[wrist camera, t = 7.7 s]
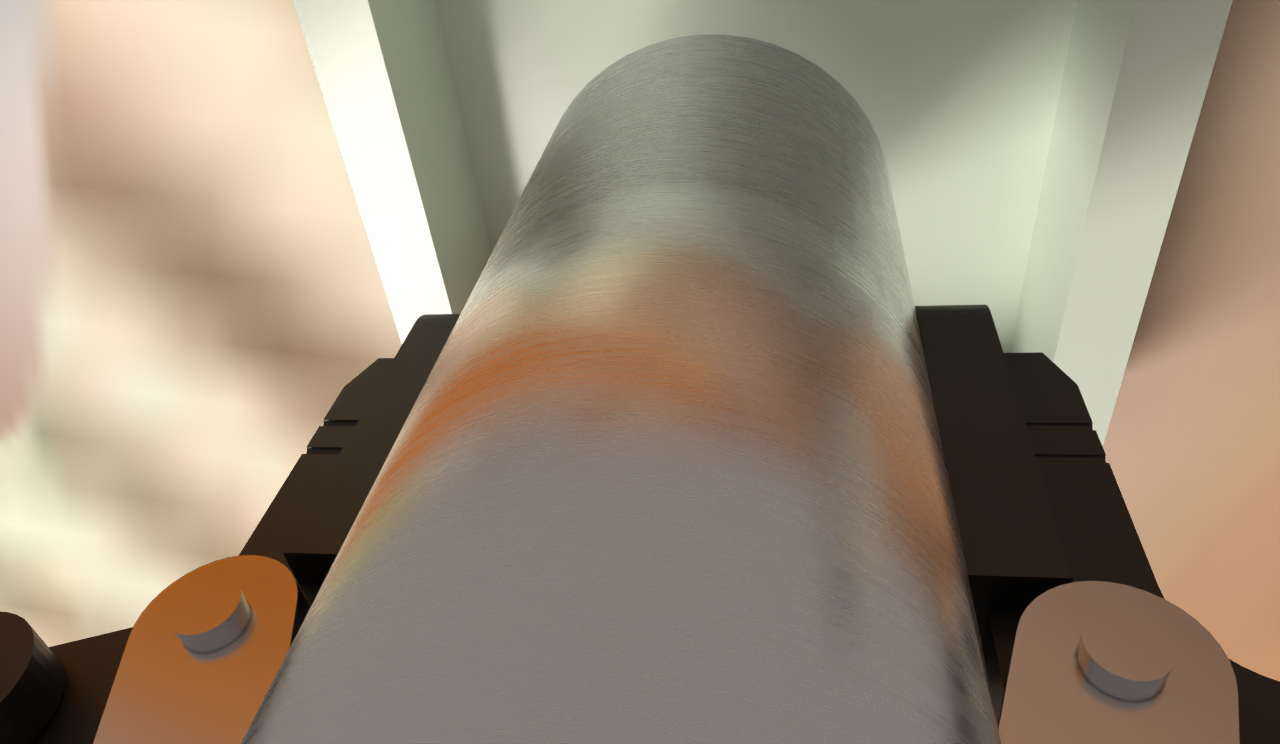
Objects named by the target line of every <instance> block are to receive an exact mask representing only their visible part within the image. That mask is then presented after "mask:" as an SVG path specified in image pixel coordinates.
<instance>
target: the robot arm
mask: <svg viewBox="0 0 1280 744" xmlns="http://www.w3.org/2000/svg"><path fill="white" fill-rule="evenodd" d="M915 311H916V316H917V321H918V326H919V331H920V336H921V341H922V346H923V351H924V356H925V361H926V366H927V371H928V376H929V381H930V386H931V391H932V396H933V401H934V406H935V411H936V416H937V421H938V427H939V432H940V437H941V442H942V447H943V452H944V457H945V462H946V467H947V472H948V477H949V482H950V487H951V492H952V497H953V502H954V507H955V512H956V517H957V522H958V527H959V532H960V538H961V543H962V548H963V553H964V558H965V563H966V568H967V573H968V578H969V583H970V588H971V593H972V598H973V603H974V608H975V613H976V618H977V623H978V628H979V633H980V638H981V643H982V649H983V654H984V659H985V664H986V669H987V674H988V679H989V684H990V689H991V694H992V699H993V704H994V709H995V714H996V719H997V724H998V729H999V735H1000V740H1001V744H1280V682H1279V681H1276V680H1273V679H1270V678H1267V677H1264V676H1262V675H1260V674H1258V673H1255V672H1253V671H1251V670H1249V669H1247V668H1244V667H1242V666H1240V665H1239V664H1237V663H1235V662H1233V661H1232V660H1230V659H1228V657H1227V656H1226V654H1225V652H1224V650H1223V649H1222V647H1221V646H1220V644H1219V643H1218V642H1217V641H1216V640H1215V638H1214V637H1213V636H1212V635H1211V633H1210V632H1209V631H1208V630H1207V629H1205V628H1204V627H1203V626H1202V625H1201V624H1200V623H1199V622H1198V621H1197V620H1196V619H1194V618H1193V617H1192V616H1190V615H1189V614H1188V613H1186V612H1185V611H1184V610H1182V609H1181V608H1179V607H1177V606H1176V605H1174V604H1172V603H1170V602H1169V601H1167V600H1165V599H1164V597H1163V595H1162V593H1161V591H1160V589H1159V587H1158V584H1157V582H1156V579H1155V577H1154V574H1153V572H1152V569H1151V567H1150V564H1149V562H1148V559H1147V557H1146V554H1145V552H1144V549H1143V547H1142V544H1141V542H1140V539H1139V537H1138V534H1137V532H1136V529H1135V527H1134V524H1133V522H1132V519H1131V517H1130V514H1129V512H1128V509H1127V507H1126V504H1125V502H1124V499H1123V497H1122V494H1121V492H1120V489H1119V487H1118V484H1117V482H1116V479H1115V477H1114V474H1113V472H1112V469H1111V467H1110V464H1109V463H1106V461H1105V455H1106V454H1105V452H1104V449H1103V447H1102V444H1101V442H1100V439H1099V437H1098V434H1097V432H1096V430H1093V427H1092V425H1093V422H1092V419H1091V417H1090V414H1089V412H1088V409H1087V407H1086V404H1085V402H1084V399H1083V397H1082V394H1081V392H1080V390H1079V387H1078V385H1077V384H1076V383H1075V382H1074V381H1073V380H1072V379H1071V378H1070V377H1069V376H1068V375H1066V374H1065V373H1064V372H1063V371H1062V370H1061V369H1060V368H1059V367H1058V366H1057V365H1056V364H1054V363H1053V362H1052V361H1051V360H1050V359H1049V358H1048V357H1047V356H1046V355H1045V354H1044V353H1042V352H1037V353H1003V350H1002V346H1001V343H1000V340H999V337H998V334H997V330H996V327H995V324H994V321H993V318H992V314H991V311H990V309H989V307H988V306H987V305H934V306H915ZM459 316H460V314H426V315H422V316H420V317H419V318H418V319H417V320H416V322H415V323H414V325H413V327H412V329H411V330H410V332H409V334H408V336H407V337H406V339H405V341H404V342H403V344H402V346H401V348H400V349H399V351H398V353H397V355H396V356H395V358H379V359H377V360H376V361H375V362H374V363H373V364H371V365H370V366H369V367H368V368H367V369H365V370H364V371H363V372H362V373H360V374H359V375H358V376H357V377H356V378H354V379H353V380H352V381H351V382H350V383H348V384H347V385H346V386H345V387H344V388H343V389H342V391H341V393H340V394H339V396H338V397H337V399H336V401H335V402H334V404H333V405H332V407H331V409H330V410H329V412H328V414H327V415H326V417H325V418H324V426H319V428H318V430H317V431H316V433H315V434H314V436H313V438H312V439H311V441H310V442H309V444H308V446H307V454H302V455H301V457H300V458H299V460H298V462H297V463H296V465H295V466H294V468H293V470H292V471H291V473H290V474H289V476H288V478H287V479H286V481H285V482H284V484H283V486H282V487H281V489H280V490H279V492H278V494H277V495H276V497H275V498H274V500H273V502H272V503H271V505H270V506H269V508H268V510H267V511H266V513H265V514H264V516H263V518H262V519H261V521H260V522H259V524H258V526H257V527H256V529H255V530H254V532H253V534H252V535H251V537H250V538H249V540H248V542H247V543H246V545H245V546H244V548H243V550H242V551H241V553H240V555H239V556H234V557H228V558H224V559H221V560H217V561H214V562H211V563H209V564H206V565H204V566H201V567H199V568H197V569H195V570H193V571H191V572H189V573H187V574H186V575H184V576H183V577H181V578H179V579H178V580H176V581H175V582H173V583H172V584H171V585H169V586H168V587H167V588H166V589H164V590H163V591H162V592H161V593H160V594H159V595H158V596H157V597H156V598H155V599H154V600H152V601H151V602H150V604H149V605H148V606H147V607H146V609H145V610H144V611H143V612H142V613H141V615H140V617H139V618H138V620H137V621H136V623H135V624H134V626H133V627H132V628H128V629H124V630H120V631H115V632H111V633H107V634H103V635H99V636H95V637H90V638H86V639H82V640H78V641H74V642H70V643H65V644H61V645H57V646H53V647H48V646H47V645H46V644H45V643H44V641H43V640H42V639H41V638H40V637H39V636H38V634H37V633H36V632H35V631H34V630H33V628H32V627H31V626H30V625H29V624H28V623H27V621H26V620H25V619H23V618H21V617H20V616H18V615H16V614H12V613H8V612H0V744H241V742H242V741H243V739H244V737H245V735H246V733H247V731H248V729H249V727H250V725H251V723H252V721H253V719H254V717H255V715H256V713H257V711H258V709H259V707H260V705H261V703H262V701H263V699H264V698H265V696H266V694H267V692H268V690H269V688H270V686H271V684H272V682H273V680H274V678H275V676H276V674H277V672H278V670H279V668H280V666H281V664H282V662H283V660H284V658H285V656H286V654H287V653H288V651H289V649H290V647H291V645H292V643H293V641H294V639H295V637H296V635H297V633H298V631H299V629H300V627H301V625H302V623H303V621H304V619H305V617H306V615H307V613H308V611H309V609H310V608H311V606H312V604H313V602H314V600H315V598H316V596H317V594H318V592H319V590H320V588H321V586H322V584H323V582H324V580H325V578H326V576H327V574H328V572H329V570H330V568H331V566H332V564H333V563H334V561H335V559H336V557H337V555H338V553H339V551H340V549H341V547H342V545H343V543H344V541H345V539H346V537H347V535H348V533H349V531H350V529H351V527H352V525H353V523H354V521H355V520H356V518H357V516H358V514H359V512H360V510H361V508H362V506H363V504H364V502H365V500H366V498H367V496H368V494H369V492H370V490H371V488H372V486H373V484H374V482H375V480H376V478H377V476H378V475H379V473H380V471H381V469H382V467H383V465H384V463H385V461H386V459H387V457H388V455H389V453H390V451H391V449H392V447H393V445H394V443H395V441H396V439H397V437H398V435H399V433H400V431H401V430H402V428H403V426H404V424H405V422H406V420H407V418H408V416H409V414H410V412H411V410H412V408H413V406H414V404H415V402H416V400H417V398H418V396H419V394H420V392H421V390H422V388H423V386H424V385H425V383H426V381H427V379H428V377H429V375H430V373H431V371H432V369H433V367H434V365H435V363H436V361H437V359H438V357H439V355H440V353H441V351H442V349H443V347H444V345H445V343H446V342H447V340H448V338H449V336H450V334H451V332H452V330H453V328H454V326H455V324H456V322H457V320H458V318H459Z"/></svg>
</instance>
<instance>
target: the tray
mask: <svg viewBox="0 0 1280 744" xmlns="http://www.w3.org/2000/svg"><path fill="white" fill-rule="evenodd" d="M292 1H293V4H294V7H295V10H296V13H297V16H298V19H299V23H300V26H301V29H302V32H303V35H304V38H305V41H306V45H307V48H308V51H309V54H310V57H311V60H312V63H313V67H314V70H315V73H316V76H317V79H318V82H319V85H320V89H321V92H322V95H323V98H324V101H325V104H326V107H327V111H328V114H329V117H330V120H331V123H332V126H333V129H334V133H335V136H336V139H337V142H338V145H339V148H340V151H341V155H342V158H343V161H344V164H345V167H346V170H347V173H348V177H349V180H350V183H351V186H352V189H353V192H354V195H355V199H356V202H357V205H358V208H359V211H360V214H361V217H362V220H363V224H364V227H365V230H366V233H367V236H368V239H369V242H370V246H371V249H372V252H373V255H374V258H375V261H376V264H377V268H378V271H379V274H380V277H381V280H382V283H383V286H384V290H385V293H386V296H387V299H388V302H389V305H390V308H391V312H392V315H393V318H394V321H395V324H396V327H397V330H398V334H399V337H400V340H401V343H402V344H403V342H404V341H405V339H406V337H407V336H408V334H409V332H410V330H411V329H412V327H413V325H414V323H415V322H416V320H417V319H418V318H419V317H420V316H422V315H426V314H461V312H462V310H463V308H464V306H465V304H466V302H467V300H468V298H469V297H470V295H471V293H472V291H473V289H474V287H475V285H476V283H477V281H478V279H479V277H480V275H481V273H482V271H483V269H484V267H485V265H486V263H487V261H488V259H489V257H490V255H491V253H492V252H493V250H494V248H495V246H496V244H497V242H498V240H499V238H500V236H501V234H502V232H503V230H504V228H505V226H506V224H507V222H508V220H509V218H510V216H511V214H512V212H513V210H514V208H515V207H516V205H517V203H518V201H519V199H520V197H521V195H522V193H523V191H524V189H525V187H526V185H527V183H528V181H529V179H530V177H531V175H532V173H533V171H534V169H535V167H536V165H537V164H538V162H539V160H540V158H541V156H542V154H543V152H544V150H545V148H546V146H547V144H548V142H549V140H550V138H551V136H552V134H553V132H554V130H555V128H556V126H557V124H558V122H559V120H560V119H561V117H562V115H563V114H564V112H565V111H566V109H567V108H568V106H569V105H570V103H571V102H572V100H573V99H574V98H575V97H576V96H577V95H578V94H579V92H580V91H581V90H582V89H583V88H584V87H585V86H586V85H587V84H588V83H589V82H590V81H591V80H592V79H593V78H595V77H596V76H597V75H598V74H599V73H601V72H602V71H603V70H604V69H605V68H607V67H608V66H610V65H612V64H613V63H615V62H616V61H618V60H620V59H621V58H623V57H625V56H626V55H628V54H630V53H633V52H635V51H637V50H640V49H642V48H644V47H646V46H649V45H652V44H655V43H659V42H662V41H666V40H669V39H673V38H679V37H686V36H693V35H732V36H740V37H748V38H753V39H756V40H760V41H764V42H768V43H772V44H775V45H777V46H780V47H782V48H785V49H787V50H789V51H792V52H794V53H797V54H799V55H800V56H802V57H804V58H805V59H807V60H809V61H811V62H812V63H814V64H816V65H817V66H819V67H820V68H822V69H823V70H824V71H825V72H827V73H828V74H829V75H830V76H832V77H833V78H834V79H836V80H837V81H838V82H839V83H840V84H841V85H842V86H843V87H844V88H845V89H846V90H847V91H848V92H849V93H850V95H851V96H852V97H853V98H854V99H855V100H856V101H857V103H858V104H859V106H860V107H861V109H862V110H863V111H864V113H865V114H866V116H867V117H868V118H869V120H870V122H871V124H872V126H873V128H874V130H875V132H876V134H877V136H878V138H879V141H880V144H881V147H882V150H883V153H884V156H885V159H886V164H887V169H888V174H889V179H890V184H891V189H892V194H893V200H894V205H895V210H896V215H897V220H898V225H899V230H900V235H901V240H902V245H903V250H904V255H905V260H906V265H907V270H908V275H909V280H910V285H911V290H912V295H913V300H914V305H915V306H934V305H987V306H988V307H989V309H990V311H991V314H992V318H993V321H994V324H995V327H996V330H997V334H998V337H999V340H1000V343H1001V346H1002V350H1003V353H1037V352H1042V353H1044V354H1045V355H1046V356H1047V357H1048V358H1049V359H1050V360H1051V361H1052V362H1053V363H1054V364H1056V365H1057V366H1058V367H1059V368H1060V369H1061V370H1062V371H1063V372H1064V373H1065V374H1066V375H1068V376H1069V377H1070V378H1071V379H1072V380H1073V381H1074V382H1075V383H1076V384H1077V385H1078V387H1079V390H1080V392H1081V394H1082V397H1083V399H1084V402H1085V404H1086V407H1087V409H1088V412H1089V414H1090V417H1091V419H1092V422H1093V425H1092V427H1093V430H1096V432H1097V434H1098V437H1099V439H1100V442H1101V444H1102V447H1103V444H1104V441H1105V437H1106V434H1107V431H1108V427H1109V424H1110V420H1111V417H1112V413H1113V410H1114V407H1115V403H1116V400H1117V396H1118V393H1119V389H1120V386H1121V383H1122V379H1123V376H1124V372H1125V369H1126V365H1127V362H1128V359H1129V355H1130V352H1131V348H1132V345H1133V341H1134V338H1135V335H1136V331H1137V328H1138V324H1139V321H1140V317H1141V314H1142V311H1143V307H1144V304H1145V300H1146V297H1147V293H1148V290H1149V287H1150V283H1151V280H1152V276H1153V273H1154V269H1155V266H1156V263H1157V259H1158V256H1159V252H1160V249H1161V245H1162V242H1163V239H1164V235H1165V232H1166V228H1167V225H1168V221H1169V218H1170V215H1171V211H1172V208H1173V204H1174V201H1175V197H1176V194H1177V191H1178V187H1179V184H1180V180H1181V177H1182V173H1183V170H1184V167H1185V163H1186V160H1187V156H1188V153H1189V149H1190V146H1191V143H1192V139H1193V136H1194V132H1195V129H1196V125H1197V122H1198V119H1199V115H1200V112H1201V108H1202V105H1203V101H1204V98H1205V95H1206V91H1207V88H1208V84H1209V81H1210V77H1211V74H1212V70H1213V67H1214V64H1215V60H1216V57H1217V53H1218V50H1219V46H1220V43H1221V40H1222V36H1223V33H1224V29H1225V26H1226V22H1227V19H1228V16H1229V12H1230V9H1231V5H1232V2H1233V0H292Z"/></svg>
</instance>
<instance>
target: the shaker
mask: <svg viewBox="0 0 1280 744" xmlns="http://www.w3.org/2000/svg"><path fill="white" fill-rule="evenodd" d="M241 744H1001V740H1000V735H999V729H998V724H997V719H996V714H995V709H994V704H993V699H992V694H991V689H990V684H989V679H988V674H987V669H986V664H985V659H984V654H983V649H982V643H981V638H980V633H979V628H978V623H977V618H976V613H975V608H974V603H973V598H972V593H971V588H970V583H969V578H968V573H967V568H966V563H965V558H964V553H963V548H962V543H961V538H960V532H959V527H958V522H957V517H956V512H955V507H954V502H953V497H952V492H951V487H950V482H949V477H948V472H947V467H946V462H945V457H944V452H943V447H942V442H941V437H940V432H939V427H938V421H937V416H936V411H935V406H934V401H933V396H932V391H931V386H930V381H929V376H928V371H927V366H926V361H925V356H924V351H923V346H922V341H921V336H920V331H919V326H918V321H917V316H916V311H915V305H914V300H913V295H912V290H911V285H910V280H909V275H908V270H907V265H906V260H905V255H904V250H903V245H902V240H901V235H900V230H899V225H898V220H897V215H896V210H895V205H894V200H893V194H892V189H891V184H890V179H889V174H888V169H887V164H886V159H885V156H884V153H883V150H882V147H881V144H880V141H879V138H878V136H877V134H876V132H875V130H874V128H873V126H872V124H871V122H870V120H869V118H868V117H867V116H866V114H865V113H864V111H863V110H862V109H861V107H860V106H859V104H858V103H857V101H856V100H855V99H854V98H853V97H852V96H851V95H850V93H849V92H848V91H847V90H846V89H845V88H844V87H843V86H842V85H841V84H840V83H839V82H838V81H837V80H836V79H834V78H833V77H832V76H830V75H829V74H828V73H827V72H825V71H824V70H823V69H822V68H820V67H819V66H817V65H816V64H814V63H812V62H811V61H809V60H807V59H805V58H804V57H802V56H800V55H799V54H797V53H794V52H792V51H789V50H787V49H785V48H782V47H780V46H777V45H775V44H772V43H768V42H764V41H760V40H756V39H753V38H748V37H740V36H732V35H693V36H686V37H679V38H673V39H669V40H666V41H662V42H659V43H655V44H652V45H649V46H646V47H644V48H642V49H640V50H637V51H635V52H633V53H630V54H628V55H626V56H625V57H623V58H621V59H620V60H618V61H616V62H615V63H613V64H612V65H610V66H608V67H607V68H605V69H604V70H603V71H602V72H601V73H599V74H598V75H597V76H596V77H595V78H593V79H592V80H591V81H590V82H589V83H588V84H587V85H586V86H585V87H584V88H583V89H582V90H581V91H580V92H579V94H578V95H577V96H576V97H575V98H574V99H573V100H572V102H571V103H570V105H569V106H568V108H567V109H566V111H565V112H564V114H563V115H562V117H561V119H560V120H559V122H558V124H557V126H556V128H555V130H554V132H553V134H552V136H551V138H550V140H549V142H548V144H547V146H546V148H545V150H544V152H543V154H542V156H541V158H540V160H539V162H538V164H537V165H536V167H535V169H534V171H533V173H532V175H531V177H530V179H529V181H528V183H527V185H526V187H525V189H524V191H523V193H522V195H521V197H520V199H519V201H518V203H517V205H516V207H515V208H514V210H513V212H512V214H511V216H510V218H509V220H508V222H507V224H506V226H505V228H504V230H503V232H502V234H501V236H500V238H499V240H498V242H497V244H496V246H495V248H494V250H493V252H492V253H491V255H490V257H489V259H488V261H487V263H486V265H485V267H484V269H483V271H482V273H481V275H480V277H479V279H478V281H477V283H476V285H475V287H474V289H473V291H472V293H471V295H470V297H469V298H468V300H467V302H466V304H465V306H464V308H463V310H462V312H461V314H460V316H459V318H458V320H457V322H456V324H455V326H454V328H453V330H452V332H451V334H450V336H449V338H448V340H447V342H446V343H445V345H444V347H443V349H442V351H441V353H440V355H439V357H438V359H437V361H436V363H435V365H434V367H433V369H432V371H431V373H430V375H429V377H428V379H427V381H426V383H425V385H424V386H423V388H422V390H421V392H420V394H419V396H418V398H417V400H416V402H415V404H414V406H413V408H412V410H411V412H410V414H409V416H408V418H407V420H406V422H405V424H404V426H403V428H402V430H401V431H400V433H399V435H398V437H397V439H396V441H395V443H394V445H393V447H392V449H391V451H390V453H389V455H388V457H387V459H386V461H385V463H384V465H383V467H382V469H381V471H380V473H379V475H378V476H377V478H376V480H375V482H374V484H373V486H372V488H371V490H370V492H369V494H368V496H367V498H366V500H365V502H364V504H363V506H362V508H361V510H360V512H359V514H358V516H357V518H356V520H355V521H354V523H353V525H352V527H351V529H350V531H349V533H348V535H347V537H346V539H345V541H344V543H343V545H342V547H341V549H340V551H339V553H338V555H337V557H336V559H335V561H334V563H333V564H332V566H331V568H330V570H329V572H328V574H327V576H326V578H325V580H324V582H323V584H322V586H321V588H320V590H319V592H318V594H317V596H316V598H315V600H314V602H313V604H312V606H311V608H310V609H309V611H308V613H307V615H306V617H305V619H304V621H303V623H302V625H301V627H300V629H299V631H298V633H297V635H296V637H295V639H294V641H293V643H292V645H291V647H290V649H289V651H288V653H287V654H286V656H285V658H284V660H283V662H282V664H281V666H280V668H279V670H278V672H277V674H276V676H275V678H274V680H273V682H272V684H271V686H270V688H269V690H268V692H267V694H266V696H265V698H264V699H263V701H262V703H261V705H260V707H259V709H258V711H257V713H256V715H255V717H254V719H253V721H252V723H251V725H250V727H249V729H248V731H247V733H246V735H245V737H244V739H243V741H242V742H241Z"/></svg>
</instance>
